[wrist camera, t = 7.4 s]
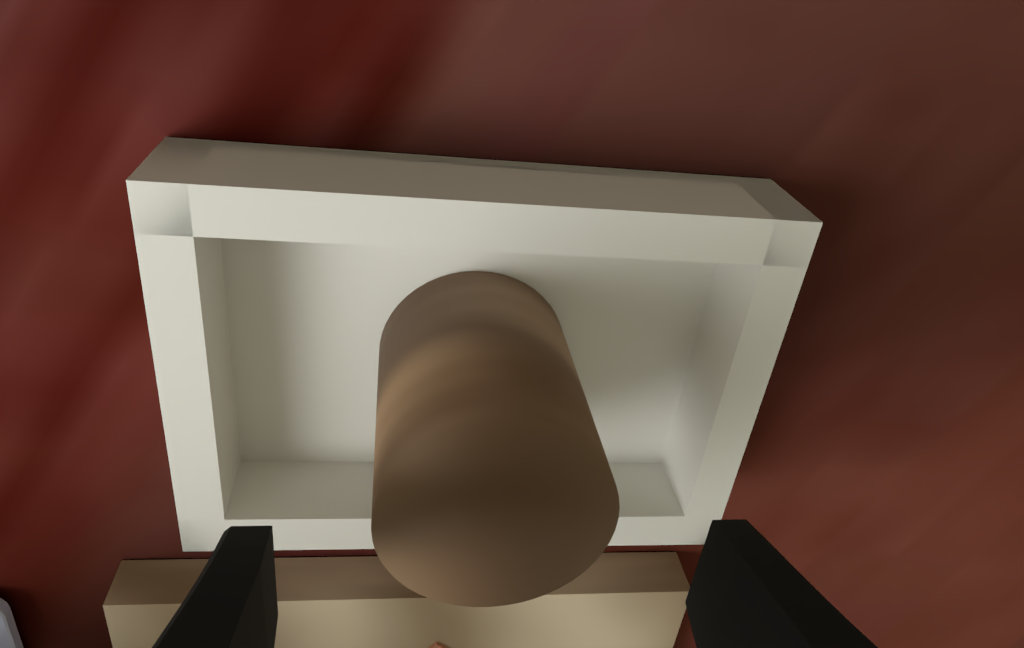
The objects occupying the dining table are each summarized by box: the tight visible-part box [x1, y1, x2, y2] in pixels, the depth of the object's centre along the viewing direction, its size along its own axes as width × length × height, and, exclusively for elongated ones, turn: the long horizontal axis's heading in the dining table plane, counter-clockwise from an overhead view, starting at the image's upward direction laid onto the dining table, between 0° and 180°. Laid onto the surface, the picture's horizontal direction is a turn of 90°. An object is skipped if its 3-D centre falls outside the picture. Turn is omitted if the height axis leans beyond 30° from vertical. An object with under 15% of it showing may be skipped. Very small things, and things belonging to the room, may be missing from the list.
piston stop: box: [371, 271, 620, 607], centre depth 16 cm, size 4×4×6 cm
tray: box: [126, 137, 823, 552], centre depth 17 cm, size 13×9×2 cm
